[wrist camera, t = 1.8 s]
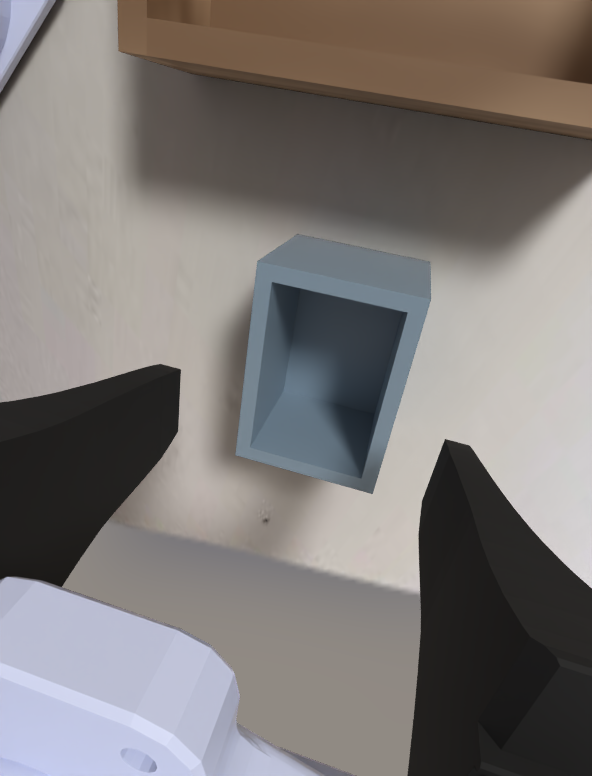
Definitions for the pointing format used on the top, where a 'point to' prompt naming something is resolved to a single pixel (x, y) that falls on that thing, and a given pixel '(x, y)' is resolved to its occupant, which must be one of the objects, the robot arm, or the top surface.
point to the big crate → (387, 52)
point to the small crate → (329, 357)
